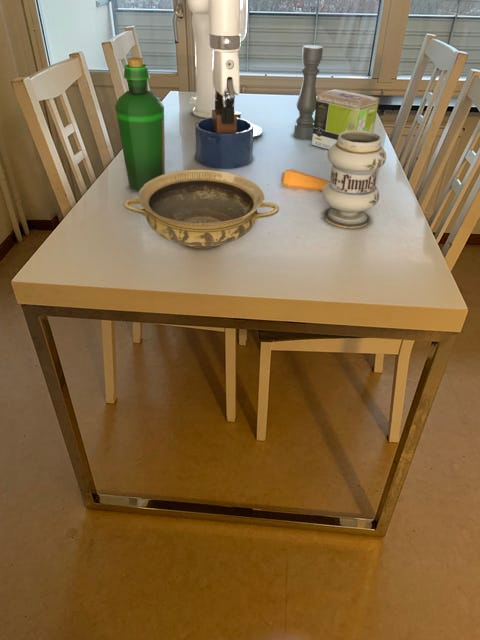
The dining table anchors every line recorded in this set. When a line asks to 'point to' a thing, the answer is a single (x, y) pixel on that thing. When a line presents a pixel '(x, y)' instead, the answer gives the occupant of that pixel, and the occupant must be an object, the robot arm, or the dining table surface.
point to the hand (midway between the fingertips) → (224, 118)
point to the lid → (257, 130)
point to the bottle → (141, 126)
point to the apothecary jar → (353, 178)
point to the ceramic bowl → (201, 206)
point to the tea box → (342, 115)
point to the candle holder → (308, 92)
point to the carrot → (302, 180)
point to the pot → (224, 145)
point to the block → (219, 126)
